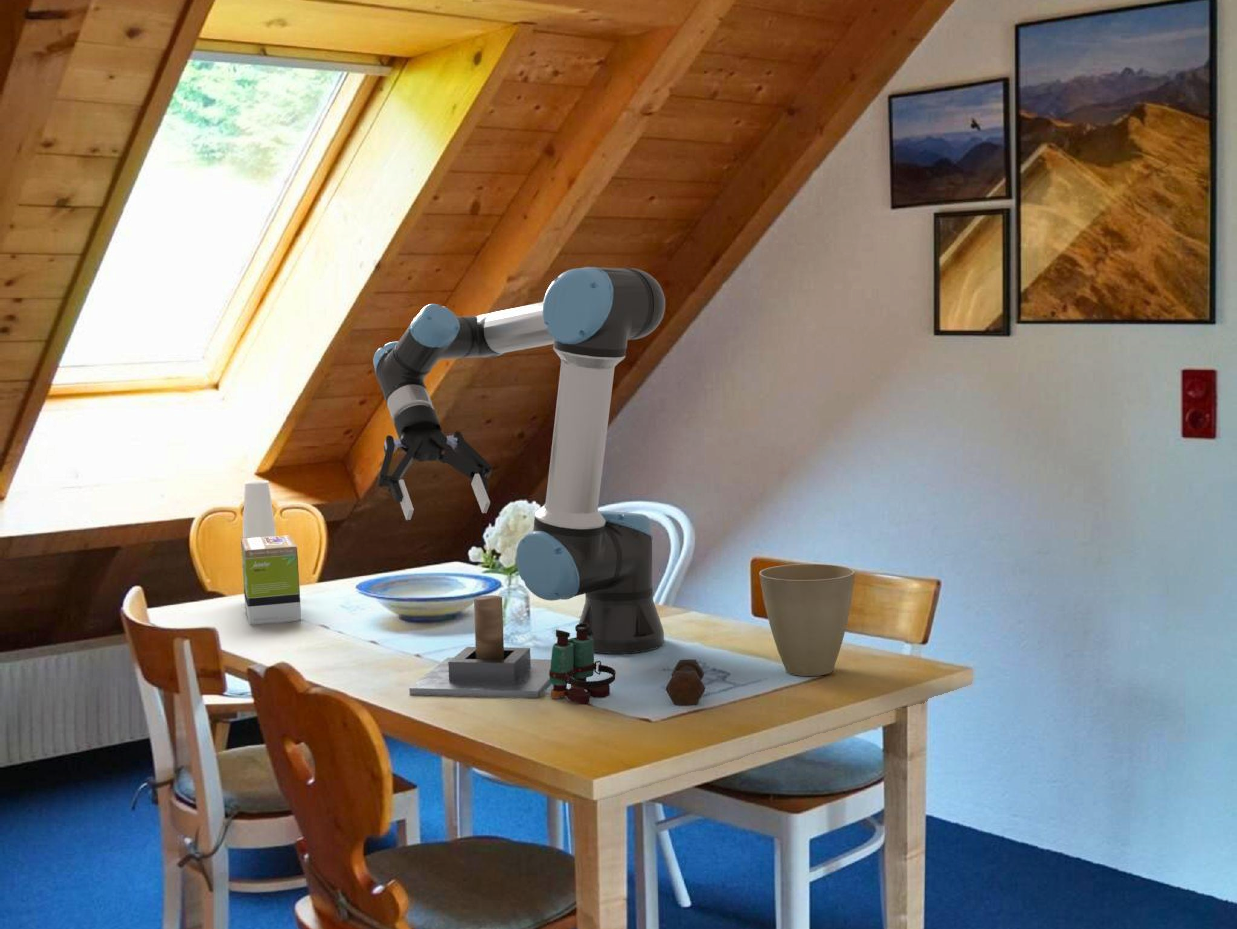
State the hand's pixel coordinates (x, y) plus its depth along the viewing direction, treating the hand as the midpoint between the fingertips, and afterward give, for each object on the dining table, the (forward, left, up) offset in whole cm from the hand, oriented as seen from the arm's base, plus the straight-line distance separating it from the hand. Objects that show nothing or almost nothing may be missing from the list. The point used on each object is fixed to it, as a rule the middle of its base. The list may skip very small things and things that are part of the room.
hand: (448, 511), depth 247 cm
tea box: (+45, -29, -25) cm, 59 cm away
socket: (-11, +16, -24) cm, 31 cm away
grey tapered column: (+55, -47, -25) cm, 77 cm away
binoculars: (-28, +25, -25) cm, 45 cm away
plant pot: (-60, +6, -25) cm, 65 cm away
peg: (-11, +16, -23) cm, 30 cm away
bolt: (-43, +20, -25) cm, 53 cm away
